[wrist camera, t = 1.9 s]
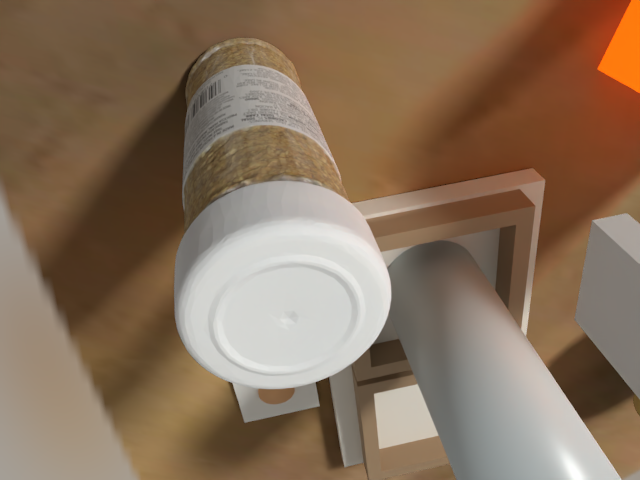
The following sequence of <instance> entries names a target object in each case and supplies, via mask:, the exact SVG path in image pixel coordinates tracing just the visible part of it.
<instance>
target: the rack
mask: <svg viewBox="0 0 640 480" xmlns="http://www.w3.org/2000/svg"><path fill="white" fill-rule="evenodd" d="M544 187H545V179H544V178H543V177H542V176H541V175H540V174H538V173H537V172H536V171H535V170H534V169H533V168H530V169H525V170H520V171H515V172H510V173H505V174H500V175H495V176H489V177H484V178H479V179H474V180H469V181H464V182H459V183H454V184H448V185H443V186H438V187H433V188H428V189H423V190H418V191H412V192H407V193H402V194H397V195H392V196H387V197H382V198H377V199H371V200H366V201H361V202H356V203H351V204H353V205H354V206H355V207H356V208H357V209H358V210H359V211H360V213H361V214H362V215H363V217H364V218H365V220H366V222H367V223H368V225H369V227H370V229H371V231H372V234H373V236H374V238H375V240H376V243H377V245H378V247H379V249H380V252H381V254H382V257H383V259H384V262H385V265H386V267H387V268H388V267H389V265H390V264H391V263H392V262H393V261H394V260H395V259H396V258H397V257H398V256H399V255H400V254H402V253H403V252H404V251H406V250H408V249H409V248H411V247H413V246H415V245H418V244H423V243H428V242H433V241H438V240H444V241H451V242H454V243H457V244H459V245H461V246H463V247H464V248H466V249H467V250H468V251H469V252H470V254H471V255H472V257H473V258H474V260H475V261H476V263H477V264H478V266H479V267H480V269H481V270H482V272H483V273H484V275H485V276H486V277H487V279H488V280H489V282H490V283H491V285H492V286H493V288H494V289H495V291H496V292H497V294H498V295H499V297H500V298H501V300H502V301H503V303H504V304H505V306H506V307H507V309H508V310H509V312H510V313H511V315H512V316H513V318H514V319H515V321H516V322H517V324H518V325H519V327H520V328H521V330H522V331H523V333H524V334H525V336H526V332H527V324H528V316H529V308H530V300H531V292H532V284H533V276H534V267H535V259H536V251H537V243H538V235H539V227H540V219H541V211H542V203H543V195H544ZM329 381H330V388H331V394H332V400H333V406H334V413H335V419H336V425H337V431H338V437H339V444H340V450H341V454H342V459H343V463H344V467H347V466H351V465H356V464H360V463H364V466H365V469H366V473H367V477H368V480H383V479H387V478H391V477H395V476H400V475H404V474H408V473H413V472H417V471H421V470H426V469H430V468H434V467H438V466H443V465H447V464H450V462H449V460H448V457H447V455H446V452H445V450H444V447H443V445H442V442H441V440H440V438H439V435H438V433H437V430H436V428H435V425H434V423H433V420H432V418H431V416H430V413H429V411H428V408H427V406H426V403H425V401H424V398H423V396H422V394H421V391H420V389H419V386H418V384H417V381H416V379H415V376H414V374H413V371H412V369H411V367H410V364H409V362H408V359H407V357H406V354H405V352H404V349H403V347H402V345H401V342H400V340H399V337H398V335H397V332H396V330H395V327H394V325H393V322H392V320H391V318H390V315H389V313H388V316H387V319H386V322H385V325H384V327H383V328H382V330H381V332H380V334H379V336H378V337H377V339H376V340H375V341H374V343H373V344H372V345H371V346H370V347H369V348H368V349H367V350H366V351H365V352H364V353H363V354H362V355H361V356H360V357H359V358H358V359H357V360H356V361H355V362H353V363H352V364H350V365H349V366H347V367H346V368H344V369H343V370H341V371H340V372H338V373H336V374H334V375H332V376H330V377H329Z"/></svg>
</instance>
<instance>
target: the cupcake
mask: <svg viewBox="0 0 640 480" xmlns="http://www.w3.org/2000/svg"><path fill="white" fill-rule="evenodd" d="M633 403H634V407H635V409H636V411H637V413H638V414H639V416H640V399H639V398H638V397H637V396H636V394H635V393H634V398H633Z"/></svg>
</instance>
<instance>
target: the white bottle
mask: <svg viewBox="0 0 640 480" xmlns="http://www.w3.org/2000/svg"><path fill="white" fill-rule="evenodd" d="M387 270H388V273H389V277H390V282H391V304H390V310H389V315H390V318H391V320H392V322H393V325H394V327H395V330H396V332H397V335H398V337H399V340H400V342H401V345H402V347H403V349H404V352H405V354H406V357H407V359H408V362H409V364H410V367H411V369H412V371H413V374H414V376H415V379H416V381H417V384H418V386H419V389H420V391H421V394H422V396H423V398H424V401H425V403H426V406H427V408H428V411H429V413H430V416H431V418H432V420H433V423H434V425H435V428H436V430H437V433H438V435H439V438H440V440H441V442H442V445H443V447H444V450H445V452H446V455H447V457H448V460H449V462H450V465H451V467H452V469H453V472H454V474H455V477H456V479H457V480H622V479H621V478H620V476H619V475H618V473H617V472H616V470H615V469H614V467H613V466H612V464H611V463H610V462H609V460H608V459H607V457H606V456H605V454H604V453H603V451H602V450H601V448H600V447H599V445H598V444H597V442H596V441H595V439H594V438H593V436H592V435H591V433H590V432H589V430H588V429H587V427H586V426H585V424H584V423H583V421H582V420H581V418H580V417H579V415H578V414H577V412H576V411H575V409H574V408H573V406H572V405H571V403H570V402H569V400H568V399H567V397H566V396H565V394H564V393H563V391H562V390H561V388H560V387H559V385H558V384H557V382H556V381H555V379H554V378H553V376H552V375H551V373H550V372H549V370H548V369H547V367H546V366H545V364H544V363H543V361H542V360H541V358H540V357H539V355H538V354H537V352H536V351H535V349H534V348H533V346H532V345H531V343H530V342H529V340H528V339H527V337H526V336H525V334H524V333H523V331H522V330H521V328H520V327H519V325H518V324H517V322H516V321H515V319H514V318H513V316H512V315H511V313H510V312H509V310H508V309H507V307H506V306H505V304H504V303H503V301H502V300H501V298H500V297H499V295H498V294H497V292H496V291H495V289H494V288H493V286H492V285H491V283H490V282H489V280H488V279H487V277H486V276H485V275H484V273H483V272H482V270H481V269H480V267H479V266H478V264H477V263H476V261H475V260H474V258H473V257H472V255H471V254H470V252H469V251H468V250H467V249H466V248H464V247H463V246H461V245H459V244H457V243H454V242H451V241H444V240H438V241H433V242H428V243H423V244H418V245H415V246H413V247H411V248H409V249H408V250H406V251H404V252H403V253H402V254H400V255H399V256H398V257H397V258H396V259H395V260H394V261H393V262H392V263H391V264H390V265H389V267H388V268H387Z"/></svg>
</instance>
